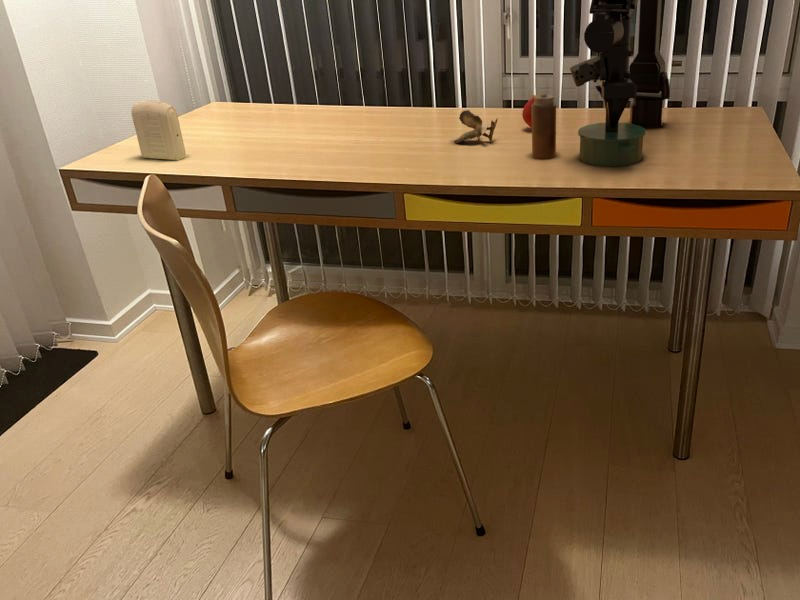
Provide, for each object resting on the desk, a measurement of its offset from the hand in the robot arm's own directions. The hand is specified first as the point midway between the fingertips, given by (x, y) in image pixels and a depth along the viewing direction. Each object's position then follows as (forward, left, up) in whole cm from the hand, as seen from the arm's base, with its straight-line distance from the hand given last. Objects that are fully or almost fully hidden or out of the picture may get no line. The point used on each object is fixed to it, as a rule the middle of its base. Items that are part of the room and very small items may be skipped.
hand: (611, 125), depth 162 cm
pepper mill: (+13, -3, -6) cm, 15 cm away
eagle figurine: (+28, -17, -7) cm, 33 cm away
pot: (0, 0, -6) cm, 6 cm away
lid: (0, 0, -2) cm, 2 cm away
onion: (+14, -25, -7) cm, 29 cm away
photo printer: (+98, -15, -7) cm, 99 cm away
